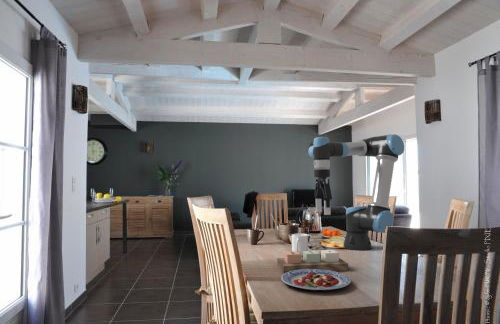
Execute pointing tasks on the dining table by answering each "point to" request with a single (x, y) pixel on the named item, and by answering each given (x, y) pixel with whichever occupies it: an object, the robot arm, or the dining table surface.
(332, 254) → the tile one
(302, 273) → the ceramic plate
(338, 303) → the dining table surface
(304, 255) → the tile two
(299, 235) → the cup
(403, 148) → the robot arm
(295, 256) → the tile three
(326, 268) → the button board
